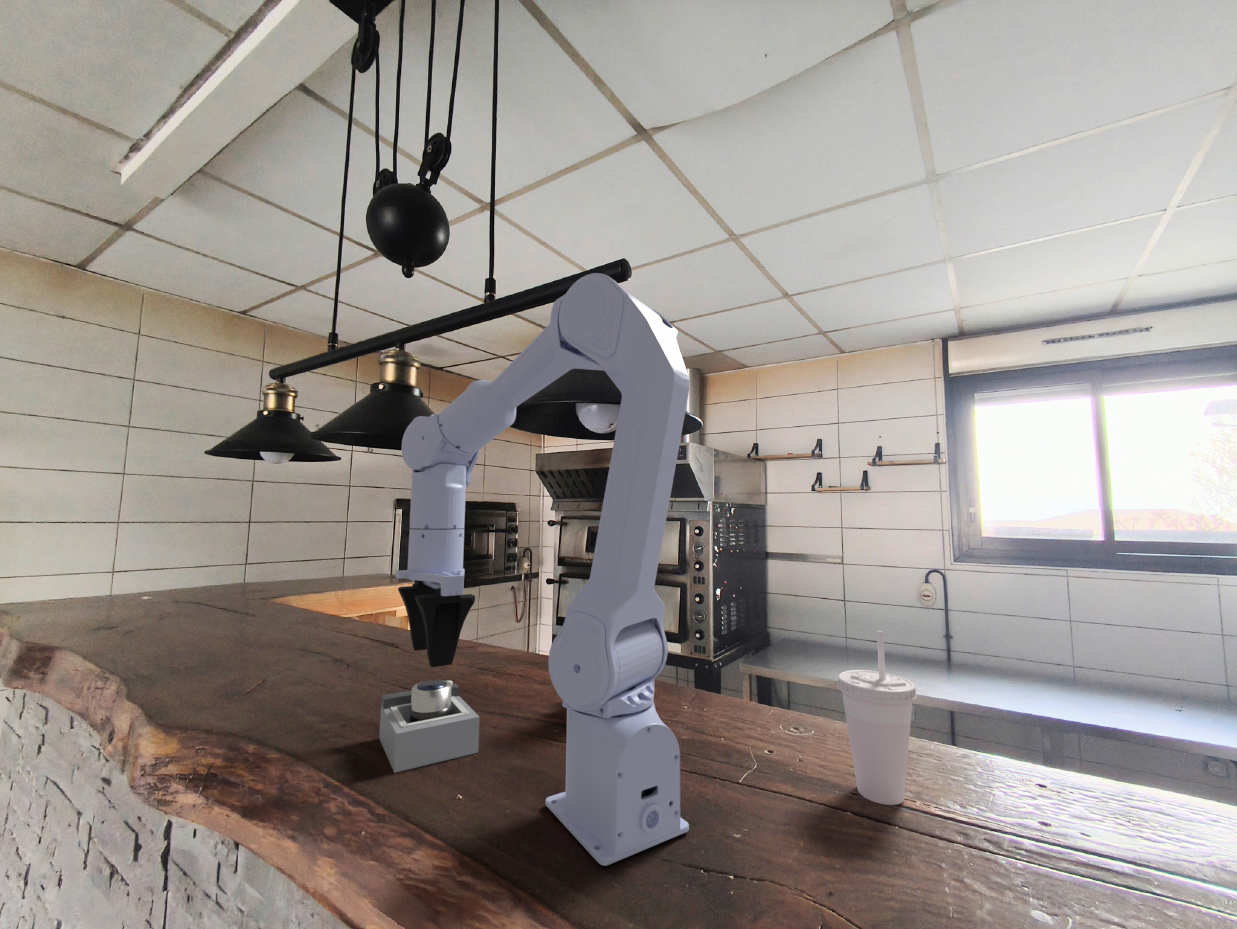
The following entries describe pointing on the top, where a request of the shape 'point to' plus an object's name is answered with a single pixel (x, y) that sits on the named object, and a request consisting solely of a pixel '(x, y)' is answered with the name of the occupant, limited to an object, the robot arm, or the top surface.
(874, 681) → the smoothie
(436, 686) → the lens
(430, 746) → the grey sink basin
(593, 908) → the top surface
